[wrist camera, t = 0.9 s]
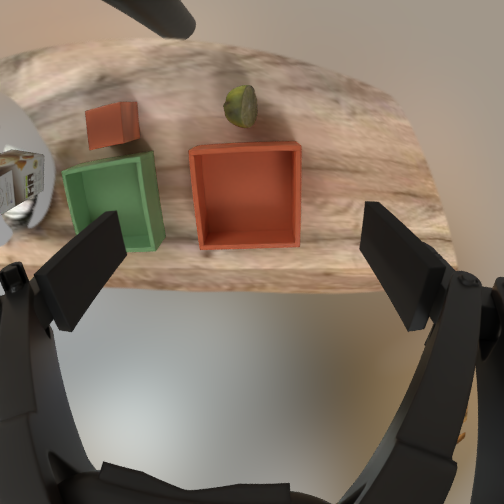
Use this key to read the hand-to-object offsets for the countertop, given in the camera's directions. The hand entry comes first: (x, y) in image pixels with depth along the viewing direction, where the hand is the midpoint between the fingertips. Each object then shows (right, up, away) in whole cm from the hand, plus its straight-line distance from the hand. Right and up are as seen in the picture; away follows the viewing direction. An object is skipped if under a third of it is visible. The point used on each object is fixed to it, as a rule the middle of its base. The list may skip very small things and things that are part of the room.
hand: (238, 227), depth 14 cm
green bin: (-18, +6, +22) cm, 29 cm away
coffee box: (-36, +12, +19) cm, 43 cm away
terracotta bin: (0, +7, +21) cm, 22 cm away
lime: (0, +16, +17) cm, 23 cm away
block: (-16, +16, +17) cm, 28 cm away
